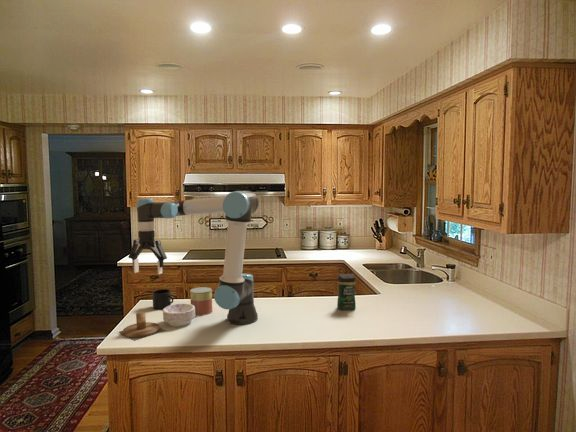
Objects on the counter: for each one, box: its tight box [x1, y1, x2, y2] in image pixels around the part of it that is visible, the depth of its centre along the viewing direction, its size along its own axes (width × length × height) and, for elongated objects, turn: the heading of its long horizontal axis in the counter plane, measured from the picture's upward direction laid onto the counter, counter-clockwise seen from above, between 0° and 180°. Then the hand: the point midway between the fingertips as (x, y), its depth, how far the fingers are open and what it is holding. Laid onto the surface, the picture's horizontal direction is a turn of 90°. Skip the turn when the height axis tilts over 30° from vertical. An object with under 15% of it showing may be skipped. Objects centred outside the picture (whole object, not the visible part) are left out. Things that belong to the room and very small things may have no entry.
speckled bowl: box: [162, 303, 196, 327], centre depth 203 cm, size 15×15×8 cm
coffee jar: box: [336, 273, 357, 311], centre depth 222 cm, size 10×8×19 cm
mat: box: [118, 327, 167, 342], centre depth 192 cm, size 16×16×1 cm
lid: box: [122, 311, 161, 339], centre depth 192 cm, size 16×16×8 cm
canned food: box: [189, 286, 213, 316], centre depth 220 cm, size 11×11×12 cm
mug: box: [151, 288, 174, 311], centre depth 229 cm, size 9×12×9 cm
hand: (148, 273), depth 204 cm, fingers open, 13 cm apart
